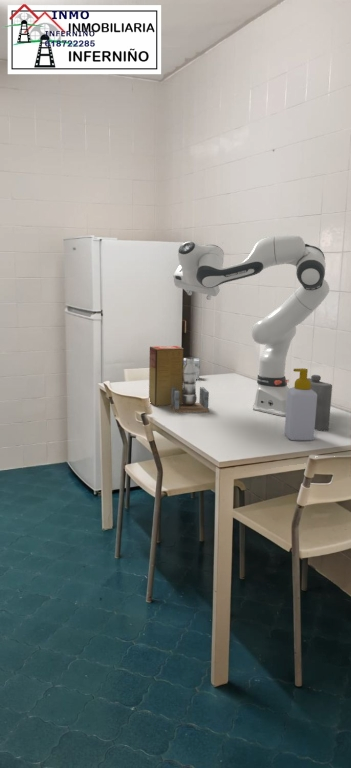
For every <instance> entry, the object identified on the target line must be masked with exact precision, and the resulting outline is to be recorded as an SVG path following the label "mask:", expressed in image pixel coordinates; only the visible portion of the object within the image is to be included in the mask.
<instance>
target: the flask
mask: <svg viewBox="0 0 351 768" xmlns="http://www.w3.org/2000/svg"><path fill="white" fill-rule="evenodd" d="M321 377H322V376H321V375H318V374H313V375H311V376H310V377H307V379H308V380H310V382H311V389H312V390H313V391H314V392H316V394H317V404H316V417H315V430H316V429H317V430H316V431H320V430H322V432H326V431H329V429H330V428H329V427H330V416H331V405H332V392H333V384H332V383H329V382H323V381H322V380H321ZM324 430H325V431H324Z"/></svg>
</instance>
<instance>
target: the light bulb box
mask: <svg viewBox="0 0 351 768" xmlns="http://www.w3.org/2000/svg"><path fill="white" fill-rule="evenodd" d="M186 358H187V357H184V365H183V368H184V366H185V365H186V363H185V361H186ZM200 363H201V361H200V358H194V365H195V367H196V369H197V376H196V379H197V380H196V381H199V380H198V379H200V370H201V369H200V368H201V367H200V366H201V365H200Z"/></svg>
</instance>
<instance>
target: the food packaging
mask: <svg viewBox="0 0 351 768" xmlns="http://www.w3.org/2000/svg"><path fill="white" fill-rule="evenodd" d="M184 355H185V348H183V347H181V346H178V345H169V346H168V345H167V346H160V345H159V346H149V371H148V372H149V373H148V376H149V378H148V381H149V382H148V399H149V398H150V402H151V403H150V404H151V405H152V406H154V407H166V406H168V407H169V406H171V389H172V387H175V388H176V389H177V390H178V391H179V403H182V394H183V374H182V370H183V365H184V358H185V356H184Z"/></svg>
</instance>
